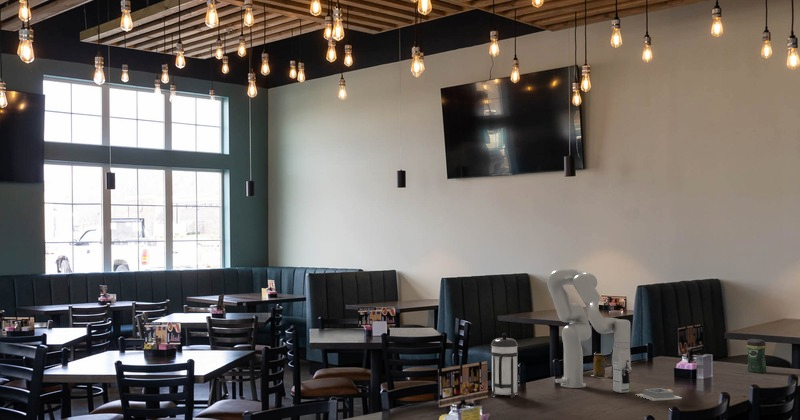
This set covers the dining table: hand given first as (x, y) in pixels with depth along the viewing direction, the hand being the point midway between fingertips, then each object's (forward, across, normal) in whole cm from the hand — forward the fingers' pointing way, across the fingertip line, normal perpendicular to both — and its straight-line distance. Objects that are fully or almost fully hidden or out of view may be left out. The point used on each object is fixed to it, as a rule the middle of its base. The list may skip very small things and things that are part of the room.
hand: (621, 381), depth 398 cm
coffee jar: (+5, -34, +109) cm, 115 cm away
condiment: (+7, -47, +16) cm, 50 cm away
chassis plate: (+5, +14, +11) cm, 19 cm away
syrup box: (+5, 0, 0) cm, 5 cm away
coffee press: (+7, -9, -58) cm, 59 cm away
